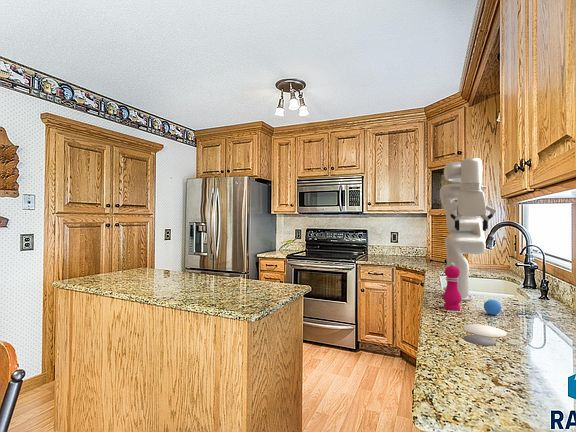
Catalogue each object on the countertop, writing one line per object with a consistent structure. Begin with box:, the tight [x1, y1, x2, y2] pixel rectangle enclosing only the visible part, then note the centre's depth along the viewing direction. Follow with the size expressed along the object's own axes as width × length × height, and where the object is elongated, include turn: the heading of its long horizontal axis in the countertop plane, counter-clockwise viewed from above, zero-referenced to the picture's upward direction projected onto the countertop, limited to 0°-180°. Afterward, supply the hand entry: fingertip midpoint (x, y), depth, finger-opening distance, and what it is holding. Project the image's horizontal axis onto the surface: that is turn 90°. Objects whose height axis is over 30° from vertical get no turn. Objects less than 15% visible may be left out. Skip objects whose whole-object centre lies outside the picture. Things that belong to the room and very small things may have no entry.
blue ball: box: [483, 299, 502, 316], centre depth 133 cm, size 6×6×6 cm
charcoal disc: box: [463, 334, 497, 347], centre depth 104 cm, size 9×9×1 cm
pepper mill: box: [442, 263, 462, 312], centre depth 142 cm, size 7×7×20 cm
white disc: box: [462, 323, 508, 338], centre depth 113 cm, size 13×13×1 cm
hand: (470, 230), depth 133 cm, fingers open, 9 cm apart
